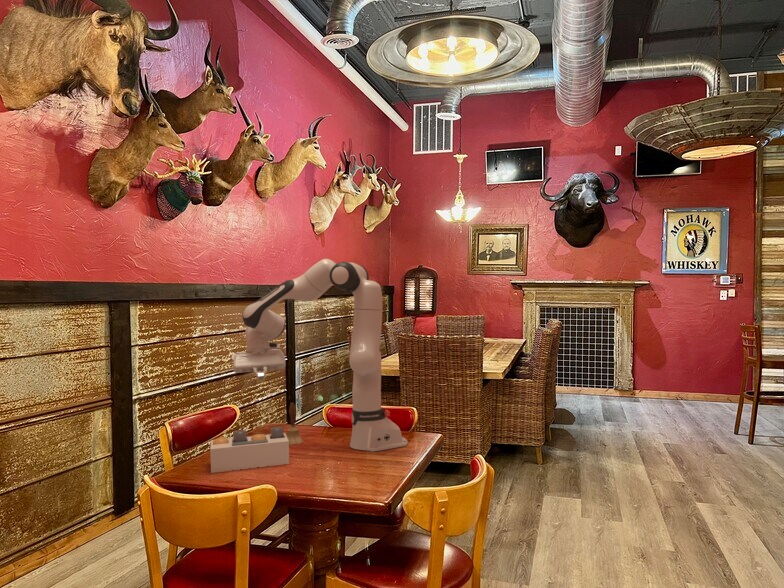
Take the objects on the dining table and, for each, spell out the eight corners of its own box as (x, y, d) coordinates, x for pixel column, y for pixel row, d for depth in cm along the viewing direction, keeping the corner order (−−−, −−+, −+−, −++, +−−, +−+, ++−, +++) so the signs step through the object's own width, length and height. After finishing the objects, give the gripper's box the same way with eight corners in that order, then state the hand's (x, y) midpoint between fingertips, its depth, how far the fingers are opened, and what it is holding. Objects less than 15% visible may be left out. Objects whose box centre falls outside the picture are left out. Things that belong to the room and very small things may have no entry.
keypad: (285, 454, 201) (285, 431, 201) (289, 464, 189) (288, 439, 189) (212, 462, 193) (211, 439, 193) (211, 473, 182) (210, 448, 182)
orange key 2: (265, 451, 197) (264, 433, 197) (265, 454, 193) (265, 436, 193) (252, 452, 196) (252, 434, 196) (253, 456, 191) (252, 437, 191)
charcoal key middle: (246, 447, 195) (245, 429, 195) (246, 451, 191) (246, 432, 191) (233, 449, 194) (233, 430, 194) (233, 452, 190) (233, 433, 190)
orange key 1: (227, 455, 193) (227, 437, 193) (227, 458, 189) (227, 440, 189) (214, 456, 192) (214, 438, 192) (214, 460, 188) (213, 441, 188)
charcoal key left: (283, 443, 199) (282, 426, 199) (284, 447, 195) (283, 429, 195) (270, 445, 198) (270, 427, 198) (271, 448, 193) (271, 430, 193)
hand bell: (307, 441, 219) (306, 401, 219) (293, 446, 212) (292, 405, 212) (292, 438, 223) (291, 399, 223) (278, 443, 216) (277, 403, 216)
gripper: (231, 347, 214) (232, 375, 205) (283, 343, 220) (287, 370, 211) (231, 357, 218) (233, 385, 209) (283, 353, 224) (286, 380, 215)
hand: (260, 378), depth 210 cm, fingers closed
